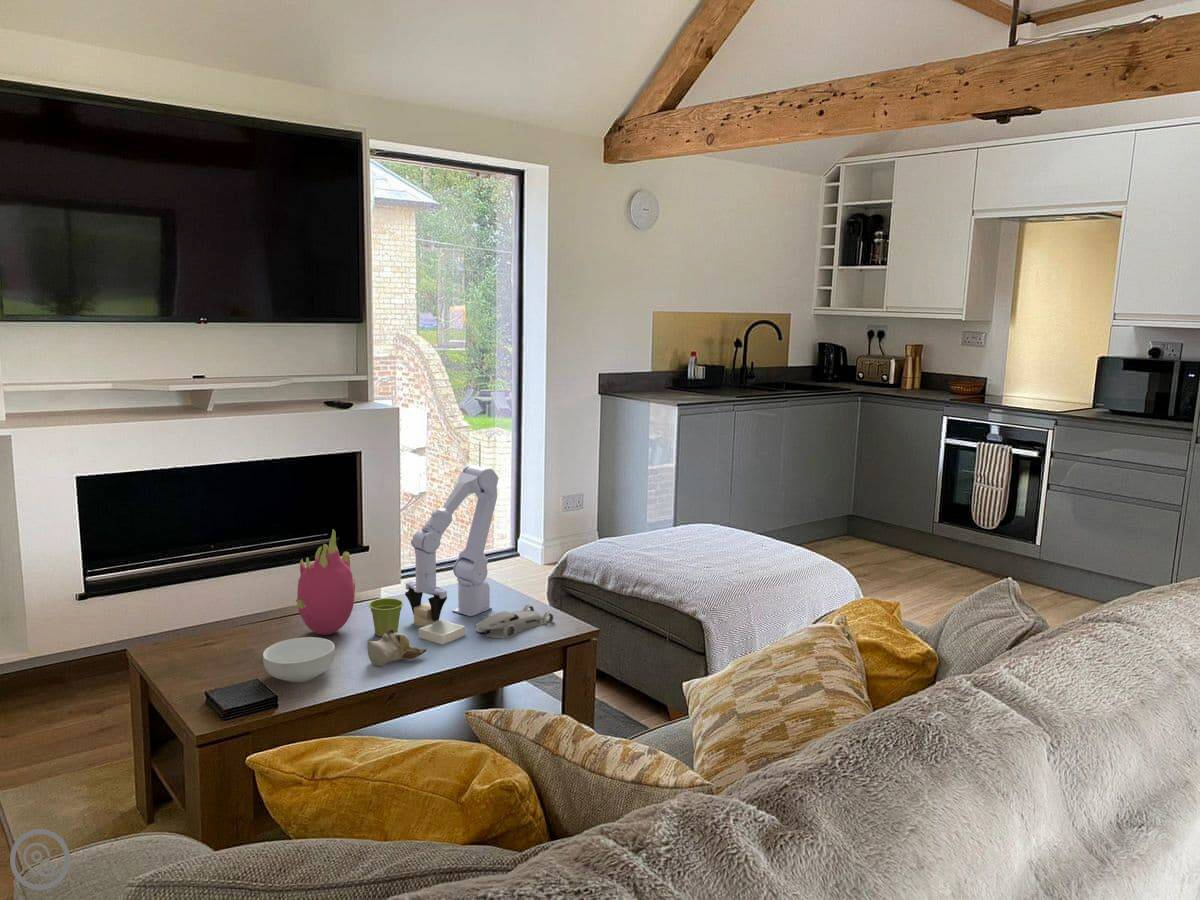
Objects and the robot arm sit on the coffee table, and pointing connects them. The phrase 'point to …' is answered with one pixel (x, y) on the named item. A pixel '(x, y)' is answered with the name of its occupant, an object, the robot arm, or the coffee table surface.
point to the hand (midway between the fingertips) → (426, 617)
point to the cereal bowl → (299, 658)
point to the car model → (512, 622)
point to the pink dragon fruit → (326, 590)
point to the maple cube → (423, 615)
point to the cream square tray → (441, 632)
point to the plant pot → (386, 614)
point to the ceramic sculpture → (391, 649)
